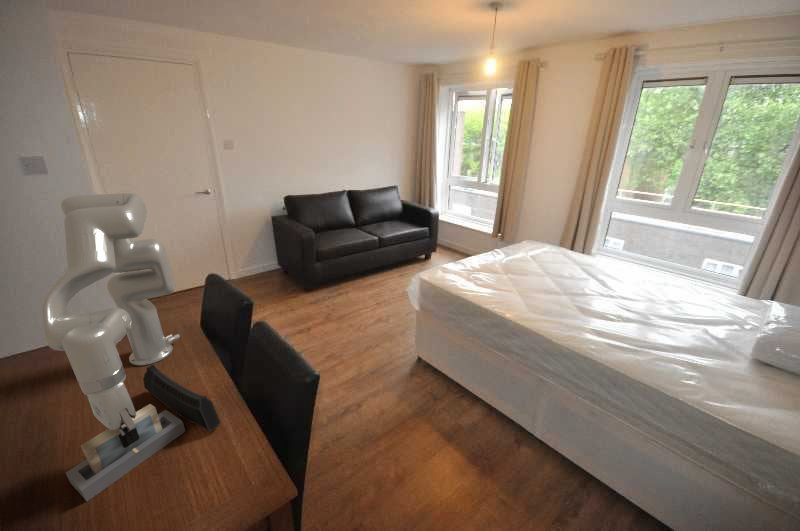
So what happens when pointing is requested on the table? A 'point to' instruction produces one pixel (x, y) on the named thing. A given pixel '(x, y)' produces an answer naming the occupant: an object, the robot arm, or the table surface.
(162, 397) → the magazine
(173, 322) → the table surface
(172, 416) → the gray rectangular tray
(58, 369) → the table surface
